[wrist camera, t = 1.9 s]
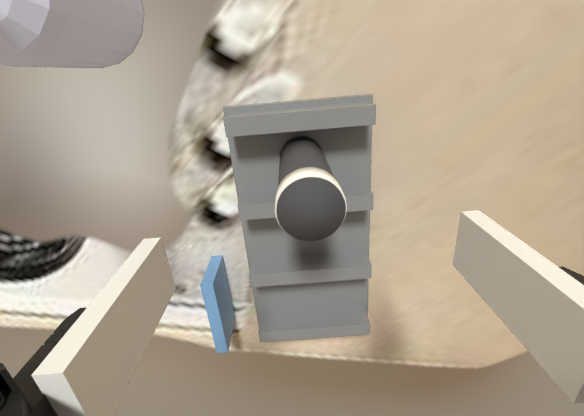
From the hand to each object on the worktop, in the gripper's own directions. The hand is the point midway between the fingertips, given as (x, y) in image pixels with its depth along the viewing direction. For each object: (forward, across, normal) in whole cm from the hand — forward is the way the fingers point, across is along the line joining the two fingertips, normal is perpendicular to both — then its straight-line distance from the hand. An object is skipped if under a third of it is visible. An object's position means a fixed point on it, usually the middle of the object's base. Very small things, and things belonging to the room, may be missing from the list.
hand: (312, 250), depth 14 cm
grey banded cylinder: (+16, 0, 0) cm, 16 cm away
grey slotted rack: (+17, 0, +8) cm, 19 cm away
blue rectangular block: (+17, +10, +15) cm, 25 cm away
